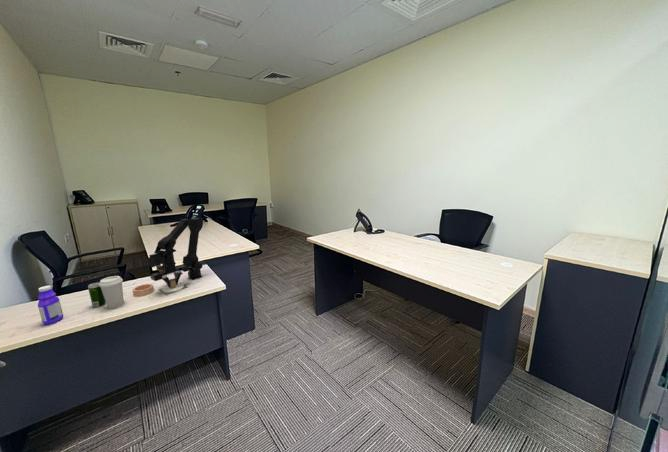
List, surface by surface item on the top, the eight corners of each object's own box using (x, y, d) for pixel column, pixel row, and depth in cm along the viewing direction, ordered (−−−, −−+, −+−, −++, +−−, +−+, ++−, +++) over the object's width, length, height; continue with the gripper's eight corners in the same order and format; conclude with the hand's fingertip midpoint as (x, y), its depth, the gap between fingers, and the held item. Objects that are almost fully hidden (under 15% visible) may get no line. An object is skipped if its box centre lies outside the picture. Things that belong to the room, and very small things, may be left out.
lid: (178, 283, 163) (177, 274, 161) (187, 287, 156) (185, 278, 155) (159, 289, 154) (157, 280, 153) (167, 294, 148) (165, 285, 146)
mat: (179, 283, 163) (179, 282, 163) (188, 287, 156) (188, 287, 156) (157, 290, 154) (157, 289, 154) (166, 295, 147) (166, 295, 147)
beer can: (104, 306, 137) (99, 285, 135) (91, 308, 135) (85, 287, 132) (107, 301, 142) (102, 281, 139) (94, 304, 140) (89, 283, 137)
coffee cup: (132, 301, 142) (126, 275, 139) (116, 310, 133) (110, 283, 129) (116, 300, 143) (110, 275, 140) (99, 310, 134) (92, 282, 130)
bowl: (150, 288, 158) (149, 282, 157) (156, 292, 152) (155, 286, 151) (131, 294, 150) (130, 288, 149) (137, 298, 145) (136, 292, 144)
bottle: (54, 317, 128) (45, 284, 124) (67, 316, 128) (58, 283, 125) (39, 326, 121) (29, 291, 117) (53, 325, 121) (43, 290, 118)
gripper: (179, 254, 164) (182, 277, 167) (144, 263, 149) (149, 288, 152) (187, 257, 157) (191, 281, 160) (152, 267, 142) (157, 293, 146)
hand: (172, 286), depth 155 cm, fingers closed on lid, 4 cm apart
